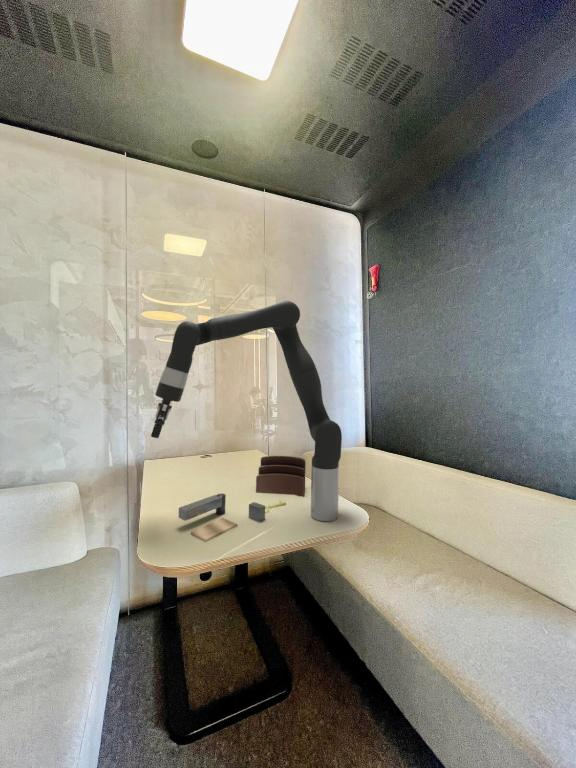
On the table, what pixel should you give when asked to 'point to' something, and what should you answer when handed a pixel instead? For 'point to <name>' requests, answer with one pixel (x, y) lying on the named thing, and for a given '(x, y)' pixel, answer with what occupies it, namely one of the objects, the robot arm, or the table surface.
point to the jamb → (257, 512)
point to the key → (275, 505)
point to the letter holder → (281, 475)
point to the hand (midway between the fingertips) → (155, 434)
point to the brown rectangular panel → (213, 529)
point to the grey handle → (203, 507)
